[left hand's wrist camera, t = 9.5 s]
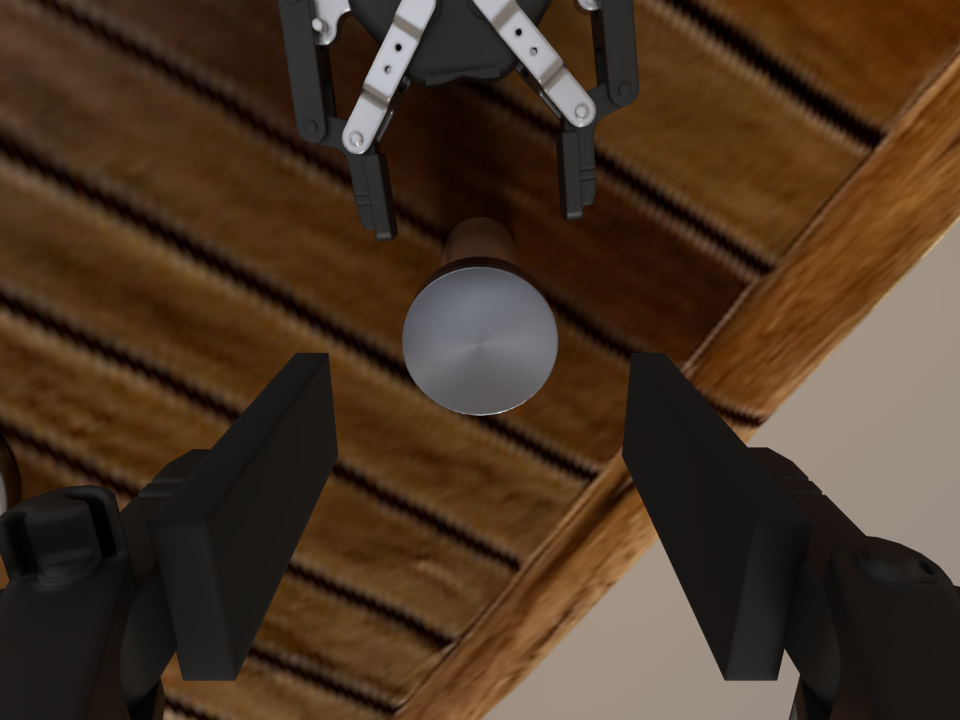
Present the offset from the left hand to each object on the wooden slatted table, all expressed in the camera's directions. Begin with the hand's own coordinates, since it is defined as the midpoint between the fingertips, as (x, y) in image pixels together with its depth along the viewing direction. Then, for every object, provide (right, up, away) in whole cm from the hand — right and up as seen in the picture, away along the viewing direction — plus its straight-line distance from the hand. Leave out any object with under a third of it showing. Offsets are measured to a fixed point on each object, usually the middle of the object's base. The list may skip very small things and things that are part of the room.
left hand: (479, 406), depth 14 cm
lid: (0, +2, +5) cm, 5 cm away
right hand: (0, +7, +13) cm, 15 cm away
